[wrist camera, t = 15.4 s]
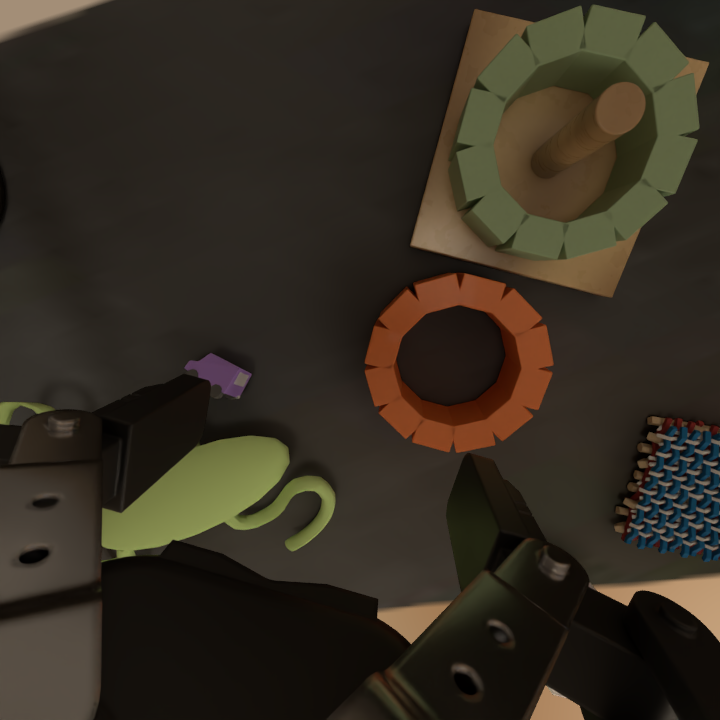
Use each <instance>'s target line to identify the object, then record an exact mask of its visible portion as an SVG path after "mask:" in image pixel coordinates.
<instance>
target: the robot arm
mask: <svg viewBox="0 0 720 720" xmlns="http://www.w3.org/2000/svg"><path fill="white" fill-rule="evenodd" d="M4 206H5V189H4V182H3V178H2V174H1V171H0V221H1V218H2V216H3V212H4ZM210 392H211V383H210V381H209V380H206V379H202V378H199V377H195V376H191V375H188V374H183V375H181V376H179V377H177V378H175V379H173V380H171V381H169V382H167V383H165V384H158V385H153V386H148V387H144V388H142V389H140V390H138V391H136V392H134V393H132V395H130V394H129V395H127V396H125V397H123V398H122V399H121V400H117V401H115V402H113V403H111V404H108V405H106V406H104V407H102V408H100V409H98V410H96V411H94V412H92V413H91V412H87V411H82V410H72V409H63V410H52V411H47V412H42V413H39V414H36V415H34V416H31V417H30V418H28V419H27V420H26V421H25V422H24V423H23V425H22V426H15V425H5V424H0V720H530V718H531V716H532V713H533V711H534V709H535V707H536V704H537V703H538V700H539V698H540V696H541V694H542V691H543V689H544V687H545V685H546V686H548V687H550V688H551V689H553V690H555V691H556V692H558V693H560V694H561V695H563V696H565V697H566V698H568V699H570V700H571V701H573V702H575V703H576V704H578V705H580V708H581V711H582V714H583V717H584V720H720V642H719V641H718V640H717V638H716V637H715V636H714V635H713V633H712V632H711V631H710V630H709V629H708V628H707V627H706V626H705V625H704V624H703V623H702V622H701V621H700V620H699V619H697V618H696V617H695V616H694V615H692V614H691V613H690V612H689V611H687V610H686V609H684V608H683V607H681V606H680V605H678V604H677V603H675V602H673V601H671V600H670V599H668V598H666V597H664V596H661V595H659V594H656V593H653V592H650V591H638V592H636V593H635V594H634V596H633V598H632V599H631V601H630V603H629V605H628V606H626V605H624V604H622V603H620V602H618V601H616V600H613V599H612V598H610V597H608V596H606V595H604V594H602V593H600V592H598V591H596V590H594V589H592V588H590V587H589V577H588V575H587V573H586V571H585V570H584V568H583V567H582V566H581V565H580V564H579V562H578V561H577V560H575V559H574V558H573V557H572V556H571V555H569V554H568V553H567V552H565V551H564V550H562V549H561V548H559V547H557V546H555V545H553V544H551V543H549V542H547V541H546V539H545V537H544V535H543V534H542V532H541V530H540V528H539V526H538V524H537V523H536V521H535V519H534V517H532V513H531V512H530V510H529V508H528V507H527V506H526V503H525V501H524V499H523V497H522V495H521V493H520V492H519V491H518V490H517V489H516V488H515V487H514V486H513V485H512V484H511V483H510V482H509V481H507V480H504V479H503V478H502V476H501V474H500V472H499V470H498V468H497V466H496V464H495V462H494V461H493V460H492V459H488V458H485V457H481V456H478V455H474V454H470V453H467V454H466V455H465V457H464V458H463V461H462V463H461V466H460V469H459V472H458V474H457V477H456V480H455V483H454V486H453V488H452V491H451V494H450V497H449V500H448V504H447V512H446V518H447V524H448V529H449V534H450V539H451V544H452V549H453V554H454V559H455V564H456V569H457V574H458V579H459V584H460V589H461V593H460V594H459V595H458V596H457V597H456V598H455V599H454V601H453V602H452V603H451V604H450V605H449V606H448V607H447V608H446V609H445V610H444V611H443V612H442V613H441V614H440V615H439V616H438V617H437V619H435V620H434V621H433V622H432V624H431V625H430V626H429V627H428V628H427V629H426V630H425V631H424V632H423V633H422V634H421V635H420V636H419V637H418V638H417V639H416V640H415V641H414V642H413V643H412V644H410V643H409V642H408V641H407V640H406V639H405V638H404V637H403V636H402V635H401V634H399V633H398V632H397V631H396V630H395V629H393V628H392V627H390V626H389V625H387V624H386V623H385V622H383V621H381V620H379V619H378V618H377V610H378V599H376V598H373V597H369V596H366V595H362V594H359V593H356V592H352V591H349V590H345V589H342V588H338V587H335V586H331V585H328V584H316V583H301V582H286V581H274V580H269V579H267V578H265V577H263V576H261V575H259V574H258V573H256V572H254V571H252V570H251V569H249V568H247V567H245V566H243V565H242V564H240V563H238V562H236V561H234V560H233V559H231V558H229V557H227V556H226V555H224V554H221V553H218V552H214V551H211V550H207V549H204V548H201V547H197V546H194V545H190V544H187V543H183V542H180V541H176V540H172V541H171V542H170V544H169V545H168V546H167V547H166V548H165V550H164V551H163V552H162V553H161V555H137V556H128V557H122V558H117V559H111V560H108V561H104V562H101V552H102V508H104V509H108V510H111V511H115V512H118V513H122V512H123V511H124V510H126V509H127V508H128V507H129V506H130V505H131V504H132V503H133V502H134V501H136V500H137V499H138V498H139V497H140V496H141V495H142V494H143V493H145V492H146V491H147V490H148V489H149V488H150V487H151V486H152V485H153V484H155V483H156V482H157V481H158V480H159V479H160V478H161V477H162V476H164V475H165V474H166V473H167V472H168V471H169V470H170V469H171V468H172V467H174V466H175V465H176V464H177V463H178V462H179V461H180V460H181V459H183V458H184V457H185V456H186V455H187V454H188V453H189V452H190V451H191V450H193V449H194V448H195V447H196V446H197V444H198V443H199V441H200V439H201V437H202V434H203V431H204V427H205V422H206V416H207V410H208V404H209V398H210Z"/></svg>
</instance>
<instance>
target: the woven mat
mask: <svg viewBox="0 0 720 720" xmlns="http://www.w3.org/2000/svg"><path fill="white" fill-rule="evenodd" d="M647 420H648V424H650V425H655V426H659V428H658V429H657V432H655V433H651V432H649V434H648V436H647V440H649V441H652V445H650V444H645V443H640V444H638V447H637V449H638V451H639V452H644V453H649V454H651V456H648V457H647V458H643V459H641V460H639V461H638V465H639V468H646V469H645V472H640V471H637V470H635V472H634V474H633V475H634V478H635V479H638V480H640V481H639V482H637V483H633V482H629V484H628V485H627V487H628V490H629V491H632V492H637V493H635V494H634V495H633V496H631V497H630V499H629V498H625V500H624V502H623V504H625V505H627V506H628V507H629V508H624V507H619V506H616V511H615V513H617V514H621V515H625V516H628V518H627V521H626V522H620V523H616V524H615V525H614V527H615V531H616V532H620V533H623V534H622V537H621V539H622V540H623V541H624V542H626V543H628V544H631V541H632V540H634V541H635V540H637V539H638V537H639V540H638V544H637V547H638V549H644V547H645V546H647V547H649V548H652V546H653V545H654V546H655V547H659V546H660V547H659V549H658V550H659V552H660V553H665V552H666V551H667V550H668V551H670V552H674V550H675V549H679V546H682V551H681V553H680V555H681V557H685V558H687V557H688V555H691V556H696V554H700V555H701V553H702V552H703V550H704V555H703V557H702V559H703V561H705V562H709V561H710V560H711V559H712V560H716V561H717V560H718V559H720V428H719V427H718V426H715V425H711V426H706V425H704V423H703V421H697V422H695V423H694V422H691V421H688V423H687V422H682V420H683V419H680V418H675V420H673V419H671V418H668V417H666V418H659V417H654V416H651V417H648V418H647ZM678 435H679V436H678ZM700 439H701V440H700ZM660 446H662V447H660ZM685 449H686V450H685ZM682 450H685V451H682ZM710 506H711V508H710ZM669 515H670V516H669ZM687 531H688V532H687ZM651 536H652V537H651ZM695 544H696V545H695ZM694 545H695V546H694ZM716 549H717V550H716Z"/></svg>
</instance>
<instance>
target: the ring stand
mask: <svg viewBox="0 0 720 720" xmlns="http://www.w3.org/2000/svg"><path fill="white" fill-rule="evenodd" d="M533 23H534V22H530V21H525V20H521V19H517V18H512V17H508V16H503V15H499V14H495V13H490V12H486V11H481V10H477V9H475V10H474V12H473V16H472V19H471V23H470V26H469V30H468V34H467V37H466V41H465V45H464V48H463V52H462V56H461V59H460V63H459V67H458V70H457V74H456V78H455V81H454V85H453V89H452V92H451V96H450V100H449V103H448V107H447V111H446V114H445V118H444V122H443V125H442V129H441V133H440V136H439V140H438V144H437V147H436V151H435V155H434V158H433V162H432V166H431V169H430V173H429V177H428V180H427V184H426V188H425V191H424V195H423V199H422V202H421V206H420V210H419V213H418V217H417V221H416V224H415V228H414V232H413V235H412V239H411V243H410V247H412V248H416V249H419V250H423V251H427V252H431V253H435V254H439V255H443V256H447V257H451V258H454V259H458V260H462V261H466V262H470V263H474V264H478V265H482V266H486V267H489V268H493V269H497V270H501V271H505V272H509V273H513V274H517V275H520V276H524V277H528V278H532V279H536V280H540V281H544V282H548V283H552V284H555V285H559V286H563V287H567V288H571V289H575V290H579V291H583V292H586V293H590V294H594V295H598V296H603V297H612V296H613V293H614V291H615V289H616V286H617V284H618V281H619V279H620V277H621V274H622V272H623V269H624V267H625V265H626V262H627V260H628V257H629V255H630V253H631V250H632V248H633V245H634V243H635V241H636V238H637V236H638V233H639V231H640V229H641V228H640V229H638V230H637V231H636V232H635V233H634V234H633V235H632V236H630V237H629V238H628V239H627V240H624V241H616V244H617V245H616V246H614V247H610V248H607V249H603V250H600V251H596V252H592V253H589V254H585V255H582V256H578V257H574V258H571V259H565V260H545V261H543V260H539V261H533V260H529V259H525V258H521V257H517V256H513V255H509V254H505V253H501V252H497V251H496V247H497V245H495V246H491V247H488V246H487V245H486V244H485V243H484V242H483V241H482V240H481V239H480V238H479V237H478V236H477V235H476V234H475V233H474V232H473V231H472V229H471V228H470V227H469V226H468V225H467V224H466V223H465V222H464V221H463V220H462V219H461V218H462V217H463V216H464V215H465V213H466V212H467V211H468V210H469V209H470V208H471V207H470V208H467V209H464V210H461V211H457V208H456V204H455V199H454V195H453V191H452V186H451V182H450V177H449V173H448V169H449V167H450V164H451V162H450V161H448V159H449V156H450V152H451V148H452V145H453V141H454V138H455V134H456V130H457V127H458V123H459V120H460V116H461V113H462V111H463V108H464V106H465V103H466V100H467V98H468V95H469V93H470V90H471V88H473V87H474V85H475V82H476V80H477V77H478V76H479V75H480V74H481V72H482V71H483V70H484V69H485V68H486V67H487V66H488V64H489V63H490V62H491V61H492V60H493V59H494V58H495V57H496V55H497V54H498V53H499V52H500V51H501V50H502V49H503V48H504V46H505V45H506V44H507V43H508V42H509V41H510V40H511V39H512V37H513V36H514V35H515V34H518V35H519V36H520V37H521V36H522V34H523V32H524V30H525V28H526V26H528V25H531V24H533ZM686 59H687V60H688V61H689V64H688V65H687V66H686V67H685V68H684V69H683V70H682V71H681V72H680V73H679V74H678V75H677V76H676V77H675V78H678V77H681V76H684V75H687V74H690V73H694V79H695V89H696V94H697V92H698V89H699V87H700V84H701V82H702V79H703V77H704V75H705V72H706V70H707V67H708V65H709V62H705V61H700V60H696V59H692V58H687V57H686ZM675 78H674V79H675ZM645 105H646V101H645V96H644V93H643V91H642V90H641V89H640V88H639V87H638V86H637V85H636V84H634V83H631V82H619V83H616V84H613V85H611V86H610V87H608V88H607V89H606V90H605V91H603V92H602V93H601V94H600V95H599V96H598V97H597V98H595V99H593V98H592V97H591V96H590V95H589V94H587V93H583V92H578V91H574V90H570V89H565V88H561V87H557V86H551V87H548V88H546V89H543V90H540V91H537V92H534V93H531V94H528V95H526V96H523V97H520V98H517V99H516V100H515V101H514V102H513V104H512V105H511V106H510V107H509V108H508V109H507V110H506V111H505V112H504V113H503V115H502V118H501V121H500V125H499V128H498V131H497V135H496V138H495V141H494V145H493V146H494V151H495V156H496V161H497V166H498V171H499V176H500V181H501V186H502V187H503V188H504V189H505V190H506V191H507V192H508V193H509V194H510V195H511V196H512V198H513V199H514V200H515V201H516V202H517V203H518V204H519V205H520V206H521V207H522V208H523V209H524V210H525V211H526V212H527V214H531V215H535V216H539V217H544V218H548V219H552V220H556V221H560V222H564V223H565V222H568V221H572V220H575V219H577V218H578V217H579V216H580V215H581V214H582V213H583V212H584V211H585V210H586V209H587V208H588V207H589V206H590V205H591V204H593V203H594V202H595V201H596V200H597V199H598V198H599V197H600V196H601V195H602V194H603V193H604V190H605V188H606V185H607V182H608V180H609V177H610V174H611V172H612V169H613V166H614V164H615V161H616V159H617V153H616V145H615V139H617V138H618V137H620V136H622V135H623V134H625V133H627V132H628V131H630V130H632V129H633V128H634V127H635V126H636V125H637V124H638V123H639V121H640V120H641V118H642V116H643V114H644V111H645Z"/></svg>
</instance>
